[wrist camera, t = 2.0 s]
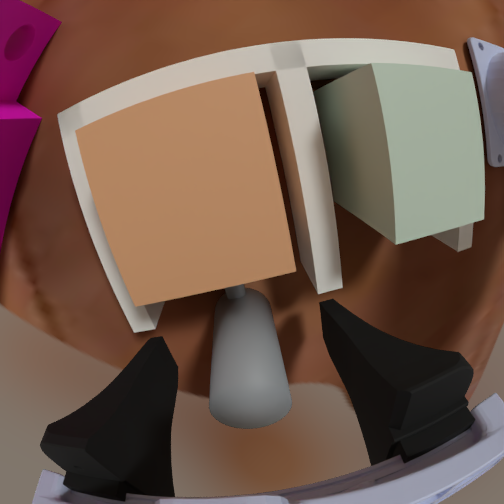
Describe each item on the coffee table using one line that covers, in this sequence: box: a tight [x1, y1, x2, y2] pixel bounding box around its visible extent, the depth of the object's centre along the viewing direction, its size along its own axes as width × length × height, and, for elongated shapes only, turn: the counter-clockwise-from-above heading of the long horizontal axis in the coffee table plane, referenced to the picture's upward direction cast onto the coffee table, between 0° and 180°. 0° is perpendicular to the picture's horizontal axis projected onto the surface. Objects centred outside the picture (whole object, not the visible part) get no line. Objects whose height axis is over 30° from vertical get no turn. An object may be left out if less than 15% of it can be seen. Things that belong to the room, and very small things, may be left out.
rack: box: [57, 38, 473, 333], centre depth 10 cm, size 16×9×3 cm, turn 103°
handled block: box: [75, 72, 296, 429], centre depth 10 cm, size 4×11×6 cm, turn 13°
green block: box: [314, 63, 485, 245], centre depth 9 cm, size 4×5×6 cm
